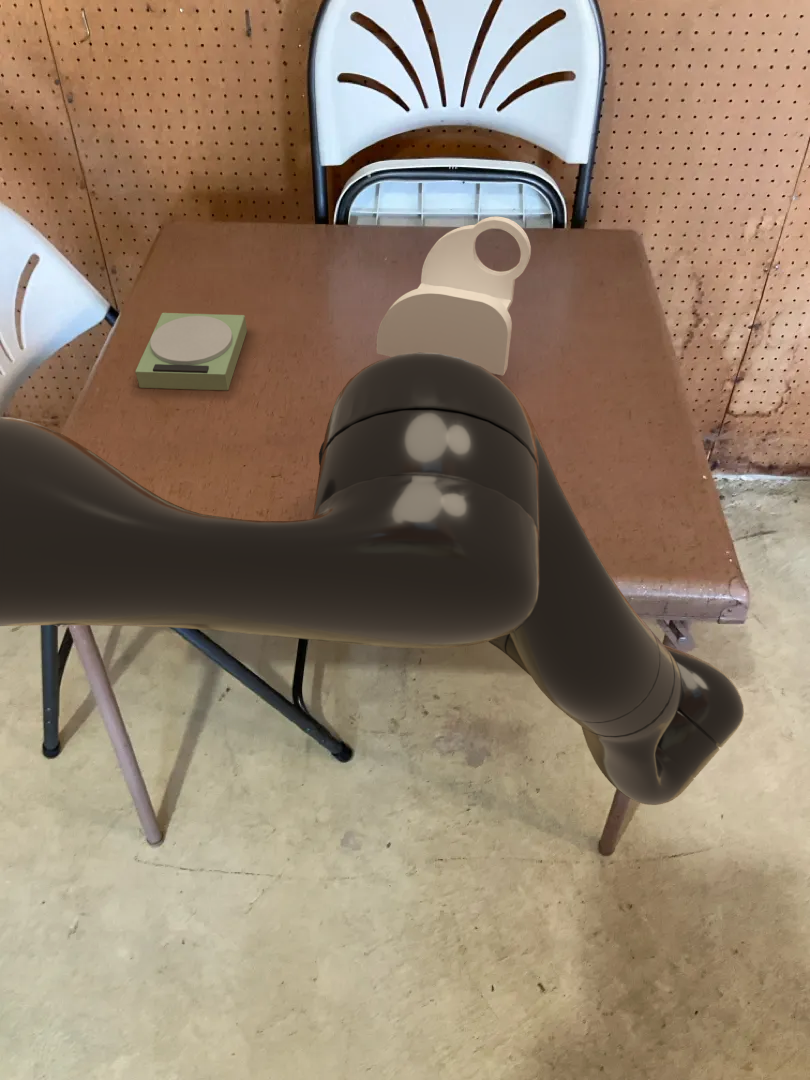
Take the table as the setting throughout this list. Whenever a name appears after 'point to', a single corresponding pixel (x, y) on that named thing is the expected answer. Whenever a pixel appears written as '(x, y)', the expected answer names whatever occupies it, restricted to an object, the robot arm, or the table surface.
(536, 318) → the table surface
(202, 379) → the scale
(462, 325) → the tape dispenser
